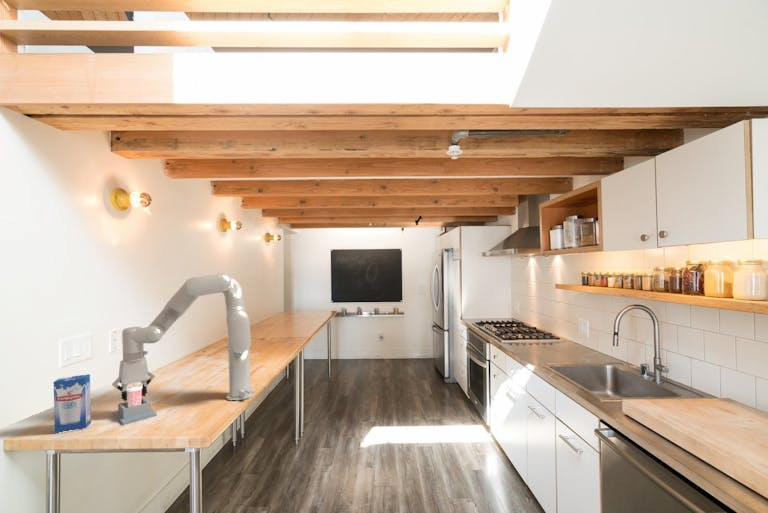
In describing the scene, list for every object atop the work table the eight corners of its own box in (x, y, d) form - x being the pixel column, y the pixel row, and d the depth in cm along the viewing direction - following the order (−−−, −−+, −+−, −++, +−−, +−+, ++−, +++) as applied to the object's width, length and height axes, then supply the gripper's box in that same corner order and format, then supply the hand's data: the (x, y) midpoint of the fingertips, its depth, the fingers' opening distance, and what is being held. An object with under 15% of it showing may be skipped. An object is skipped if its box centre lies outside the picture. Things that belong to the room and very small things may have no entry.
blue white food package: (54, 434, 145) (53, 382, 146) (60, 428, 151) (59, 377, 151) (86, 428, 149) (85, 377, 150) (91, 422, 155) (90, 374, 155)
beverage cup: (132, 406, 165) (131, 374, 165) (146, 405, 165) (145, 373, 165) (122, 411, 159) (121, 378, 159) (136, 411, 158) (135, 377, 159)
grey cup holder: (156, 415, 160) (156, 403, 160) (122, 425, 151) (122, 412, 151) (145, 405, 172) (144, 394, 172) (113, 414, 163) (112, 402, 164)
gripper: (153, 351, 171) (154, 390, 171) (107, 359, 159) (108, 402, 158) (158, 353, 166) (159, 394, 165) (110, 361, 153) (112, 406, 153)
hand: (134, 397), depth 162 cm, fingers closed on beverage cup, 6 cm apart
